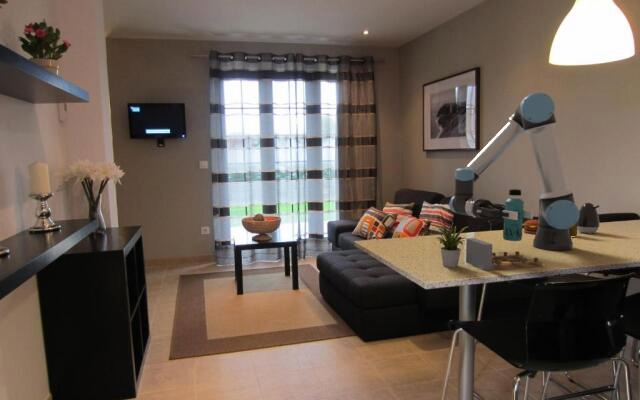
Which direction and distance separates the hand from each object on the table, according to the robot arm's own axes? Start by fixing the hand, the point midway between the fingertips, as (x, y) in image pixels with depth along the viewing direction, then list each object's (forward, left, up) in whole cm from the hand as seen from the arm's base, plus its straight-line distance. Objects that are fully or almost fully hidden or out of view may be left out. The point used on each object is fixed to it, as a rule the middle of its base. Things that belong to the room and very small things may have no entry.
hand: (524, 215), depth 157 cm
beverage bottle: (+1, -5, -11) cm, 12 cm away
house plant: (+25, -8, -19) cm, 32 cm away
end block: (+15, -4, -18) cm, 24 cm away
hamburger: (-48, -57, -19) cm, 77 cm away
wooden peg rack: (+3, -4, -18) cm, 19 cm away
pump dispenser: (-73, -50, -19) cm, 90 cm away
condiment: (-58, -45, -19) cm, 76 cm away
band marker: (+7, -4, -17) cm, 19 cm away
